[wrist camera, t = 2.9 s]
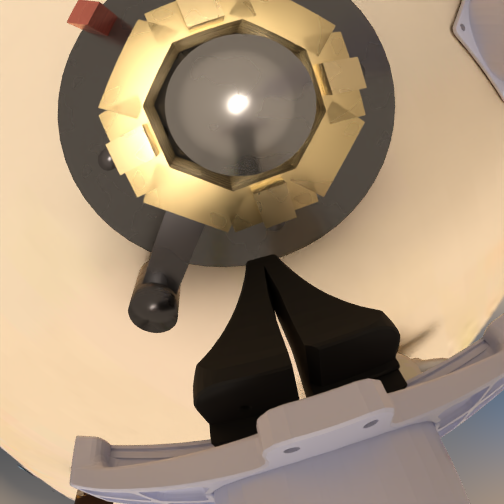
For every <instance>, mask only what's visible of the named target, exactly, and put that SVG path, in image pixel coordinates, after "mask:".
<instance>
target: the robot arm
mask: <svg viewBox="0 0 504 504" xmlns="http://www.w3.org/2000/svg"><path fill="white" fill-rule="evenodd" d="M453 32H454V34H455V36H456V37H457V38H458V39H459V41H460V42H461V43H462V44H463V45H464V46H465V48H466V49H467V50H468V51H469V53H470V54H471V55H472V56H473V58H474V59H475V60H476V62H477V63H478V64H479V66H480V67H481V68H482V70H483V71H484V73H485V74H486V75H487V77H488V78H489V80H490V81H491V83H492V84H493V86H494V87H495V89H496V90H497V92H498V93H499V95H500V97H501V98H502V100H503V101H504V0H462V2H461V5H460V8H459V11H458V14H457V17H456V20H455V22H454V25H453ZM275 312H276V315H277V317H278V319H279V322H280V324H281V326H282V329H283V331H284V333H285V335H286V338H287V340H288V342H289V345H290V347H291V350H292V352H293V355H294V359H295V362H296V365H297V368H298V372H299V375H300V378H301V382H302V385H303V388H304V392H305V395H306V398H304V399H301V400H299V396H298V391H297V386H296V381H295V377H294V372H293V367H292V364H291V360H290V357H289V354H288V351H287V348H286V346H285V343H284V340H283V338H282V335H281V332H280V329H279V326H278V324H277V321H276V315H275ZM399 342H400V334H399V331H398V329H397V328H396V327H395V325H394V324H393V322H392V321H391V320H390V319H389V318H388V317H387V316H386V315H385V314H384V313H383V311H380V310H375V309H371V308H366V307H361V306H358V305H355V304H351V303H348V302H345V301H343V300H340V299H338V298H335V297H333V296H331V295H329V294H327V293H325V292H323V291H321V290H319V289H317V288H316V287H314V286H313V285H311V284H309V283H308V282H307V281H305V280H304V279H302V278H301V277H300V276H298V275H297V274H296V273H295V272H293V271H292V270H291V269H290V268H289V267H288V266H286V265H285V264H284V263H283V262H282V261H281V260H280V259H279V258H278V257H277V255H275V254H271V255H268V256H264V257H260V258H257V259H253V260H249V261H247V263H246V271H245V278H244V282H243V287H242V291H241V294H240V297H239V300H238V303H237V305H236V308H235V310H234V313H233V315H232V317H231V319H230V321H229V323H228V324H227V326H226V328H225V330H224V331H223V333H222V335H221V336H220V338H219V339H218V340H217V342H216V343H215V345H214V346H213V347H212V349H211V350H210V351H209V352H208V353H207V354H206V356H205V357H204V358H203V359H202V360H201V361H200V362H199V363H198V364H197V366H196V370H195V376H194V383H193V398H194V406H195V408H196V409H197V411H198V412H199V413H200V414H201V415H202V416H203V418H204V419H205V420H206V421H207V422H208V423H209V425H210V437H211V439H209V440H202V441H193V442H184V443H172V444H156V445H110V444H109V443H108V442H107V441H105V440H104V439H102V438H99V437H91V436H76V440H75V446H74V453H73V459H72V467H71V475H70V486H72V487H74V488H76V489H78V490H81V491H83V492H85V493H88V494H90V495H92V496H95V497H97V498H100V499H103V500H105V501H109V502H116V503H123V504H470V501H469V499H468V496H467V494H466V492H465V489H464V487H463V485H462V482H461V480H460V478H459V476H458V473H457V471H456V469H455V467H454V465H453V463H452V461H451V458H450V456H449V455H448V452H447V450H446V448H445V446H444V444H443V442H442V440H441V437H442V436H444V435H446V434H447V433H449V432H450V431H451V430H453V429H454V428H456V427H457V426H459V425H460V424H461V423H463V422H464V421H465V420H467V419H468V418H469V417H471V416H472V415H473V414H474V413H476V412H477V411H478V410H480V409H481V408H482V407H483V406H484V405H486V404H487V403H488V402H489V401H491V400H492V399H493V398H494V397H495V396H496V395H498V394H499V393H500V392H501V391H502V390H504V314H502V315H501V316H499V317H498V318H497V319H495V320H494V321H492V322H491V323H490V324H489V326H488V327H487V328H486V330H485V332H484V335H483V337H482V338H481V339H479V340H478V341H476V342H475V343H473V344H472V345H470V346H468V347H467V348H465V349H464V350H462V351H460V352H459V353H457V354H455V355H454V356H452V357H450V358H449V359H447V360H445V361H443V362H441V363H440V364H438V365H436V366H434V367H432V368H430V369H429V370H427V371H425V372H423V373H421V374H419V375H417V376H415V377H413V378H411V379H409V380H407V381H405V379H404V377H403V376H402V374H401V372H400V370H399V368H400V364H399V362H398V361H397V359H396V354H397V351H398V347H399Z"/></svg>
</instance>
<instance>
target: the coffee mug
mask: <svg viewBox="0 0 504 504" xmlns="http://www.w3.org/2000/svg"><path fill="white" fill-rule="evenodd" d="M75 504H113V502H109V501H105V500H103V499H100V498H97V497H95V496H92V495H90V494H88V493H85V492H83V491H81V490H77V495H76V499H75Z"/></svg>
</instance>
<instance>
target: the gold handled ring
mask: <svg viewBox="0 0 504 504" xmlns="http://www.w3.org/2000/svg"><path fill="white" fill-rule="evenodd" d="M145 17H146V19H147V21H143V20H138V21H137V22H136V24H135V26H134V28H133V30H132V32H131V34H130V36H129V37H128V39H127V41H126V43H125V45H124V47H123V50H122V52H121V54H120V56H119V58H118V60H117V62H116V65H115V67H114V69H113V72H112V74H111V76H110V79H109V81H108V84H107V86H106V89H105V91H104V94H103V96H102V99H101V102H100V104H99V107H98V108H101V109H105V110H107V111H105V112H103V113H101V114H100V115H99V118H100V120H101V122H102V125H103V127H104V129H105V131H106V134H107V136H108V138H109V140H110V142H109V143H108V144H106V147H107V149H108V151H109V153H110V155H111V157H112V160H113V162H114V164H115V166H116V168H117V170H118V172H119V174H120V175H122V174H124V173H125V174H126V176H127V178H128V180H129V182H130V184H131V186H132V188H133V190H134V192H135V194H136V196H137V197H139V196H142V195H144V194H146V195H145V198H144V201H143V203H146V204H149V205H152V206H155V207H158V208H161V209H163V210H166V212H165V214H164V217H163V220H162V223H161V226H160V229H159V231H158V234H157V237H156V240H155V243H154V246H153V249H152V253H151V256H150V259H149V261H148V262H146V263H145V264H144V265H143V266H142V267H141V269H140V272H139V275H138V278H137V281H136V284H135V288H134V291H133V294H132V298H131V301H130V305H129V309H128V313H129V317H130V319H131V320H132V322H133V323H134V324H135V325H136V326H137V327H139V328H141V329H142V330H145V331H148V332H153V333H161V332H165V331H168V330H170V329H171V328H173V327H174V326H175V324H176V322H177V319H178V307H179V296H180V286H181V282H182V279H183V277H184V274H185V272H186V269H187V267H188V264H189V262H190V260H191V257H192V255H193V252H194V250H195V248H196V245H197V243H198V240H199V238H200V236H201V233H202V231H203V229H204V226H205V224H206V225H208V226H211V227H214V228H217V229H220V230H222V231H225V232H229V230H230V227H231V225H232V226H233V228H234V230H235V232H238V231H240V230H243V229H246V228H248V227H251V226H254V225H256V224H259V223H262V222H263V223H264V225H265V227H266V228H269V227H272V226H274V225H277V224H280V223H282V222H285V221H288V220H291V219H293V218H296V217H297V216H296V213H295V210H297V209H299V208H302V207H305V206H308V205H310V204H313V203H316V202H318V198H317V194H319V195H321V196H323V197H324V196H325V194H326V192H327V190H328V189H329V187H330V185H331V183H332V182H333V180H334V178H335V176H336V174H337V173H338V171H339V169H340V167H341V165H342V164H343V162H344V160H345V158H346V156H347V154H348V153H349V151H350V149H351V147H352V145H353V143H354V141H355V140H356V138H357V136H358V134H359V132H360V130H361V128H362V127H363V125H364V123H365V122H364V121H363V120H361V119H360V118H358V117H360V116H364V115H366V114H365V110H364V106H363V102H362V98H361V94H360V91H359V89H364V88H367V87H366V83H365V79H364V76H363V72H362V69H361V66H360V62H359V59H358V57H353V58H350V57H349V54H348V51H347V48H346V45H345V42H344V40H343V37H342V34H341V32H333V30H334V28H335V25H334V24H332V23H331V22H329V21H327V20H326V19H324V18H322V17H321V16H319V15H317V14H315V13H314V12H312V11H310V10H308V9H306V8H304V7H303V6H301V5H299V4H297V3H295V2H293V1H291V0H176V1H174V2H172V3H169V4H167V5H164V6H162V7H159V8H157V9H154V10H152V11H150V12H148V13H145ZM332 32H333V33H332ZM233 33H239V34H251V35H258V36H262V37H265V38H268V39H271V40H273V41H276V42H277V43H279V44H281V45H283V46H284V47H286V48H287V49H288V50H290V51H291V52H292V53H293V54H294V55H295V56H296V57H297V58H298V59H299V60H300V61H301V62H302V64H303V65H304V66H305V68H306V69H307V71H308V73H309V75H310V77H311V80H312V82H313V85H314V89H315V94H316V114H315V120H314V123H313V126H312V129H311V131H310V134H309V136H308V138H307V139H306V141H305V142H304V144H303V145H302V146H301V148H300V149H299V150H298V151H297V152H296V153H295V154H294V155H293V156H292V157H291V158H290V159H288V160H287V161H286V162H284V163H283V164H281V165H280V166H278V167H276V168H274V169H272V170H269V171H267V172H263V173H260V174H256V175H250V176H227V175H224V174H219V173H216V172H213V171H210V170H208V169H206V168H204V167H202V166H200V165H199V164H196V163H194V162H191V161H188V160H186V159H183V158H180V157H178V156H176V154H175V152H174V150H173V148H172V145H171V143H170V141H169V139H168V136H167V134H166V132H165V129H164V127H163V125H162V122H161V120H160V118H159V115H158V113H157V111H156V108H155V106H154V104H155V102H156V99H157V97H158V95H159V92H160V90H161V88H162V86H163V84H164V81H165V79H166V77H167V75H168V73H169V71H170V69H171V67H172V65H173V63H174V61H175V59H176V57H177V55H178V53H179V52H181V51H184V50H186V49H189V48H192V47H194V46H197V45H200V44H202V43H205V42H207V41H210V40H212V39H215V38H217V37H221V36H225V35H230V34H233ZM316 193H317V194H316Z"/></svg>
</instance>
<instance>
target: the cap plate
mask: <svg viewBox="0 0 504 504" xmlns="http://www.w3.org/2000/svg"><path fill="white" fill-rule="evenodd" d="M174 1H176V0H107V1H106V2H105V3H104V4H101V3H100V2H95V1H86V0H78V2H77V4H76V6H75V7H74V9H73V11H72V13H71V15H70V17H69V19H68V21H67V23H69V24H71V25H74V26H76V27H78V28H80V29H82V32H81V33H80V35H79V37H78V39H77V41H76V43H75V45H74V47H73V49H72V51H71V53H70V55H69V58H68V61H67V63H66V66H65V69H64V73H63V76H62V81H61V86H60V92H59V99H58V126H59V135H60V141H61V145H62V149H63V153H64V157H65V160H66V163H67V165H68V168H69V170H70V173H71V175H72V177H73V180H74V181H75V183H76V185H77V186H78V188H79V190H80V191H81V193H82V195H83V196H84V198H85V199H86V201H87V202H88V203H89V204H90V206H91V207H92V208H93V209H94V210H95V212H96V213H97V214H98V215H99V216H100V217H101V218H102V219H103V220H104V221H105V222H106V223H107V224H108V225H109V226H110V227H112V228H113V229H114V230H115V231H117V232H118V233H119V234H121V235H122V236H124V237H125V238H126V239H128V240H129V241H131V242H133V243H135V244H136V245H138V246H140V247H142V248H144V249H145V250H147V251H150V252H152V249H153V246H154V243H155V240H156V237H157V234H158V231H159V229H160V226H161V223H162V220H163V217H164V214H165V212H166V210H163V209H161V208H158V207H155V206H152V205H149V204H146V203H143V201H144V198H145V195H146V194H144V195H142V196H139V197H137V196H136V194H135V192H134V190H133V188H132V186H131V184H130V182H129V180H128V178H127V176H126V174H125V173H124V174H122V175H120V174H119V172H118V170H117V168H116V166H115V164H114V162H113V160H112V157H111V155H110V153H109V151H108V149H107V147H106V144H108V143H109V142H110V140H109V138H108V136H107V134H106V131H105V129H104V127H103V125H102V122H101V120H100V118H99V115H100V114H101V113H103V112H105V111H107V110H105V109H101V108H98V107H99V104H100V102H101V99H102V96H103V94H104V91H105V89H106V86H107V84H108V81H109V79H110V76H111V74H112V72H113V69H114V67H115V65H116V62H117V60H118V58H119V56H120V54H121V52H122V50H123V47H124V45H125V43H126V41H127V39H128V37H129V36H130V34H131V32H132V30H133V28H134V26H135V24H136V22H137V21H138V20H143V21H147V19H146V17H145V13H148V12H150V11H152V10H154V9H157V8H159V7H162V6H164V5H167V4H169V3H172V2H174ZM291 1H293V2H295V3H297V4H299V5H301V6H303V7H304V8H306V9H308V10H310V11H312V12H314V13H315V14H317V15H319V16H321V17H322V18H324V19H326V20H327V21H329V22H331V23H332V24H334V25H335V28H334V30H333V32H341V34H342V37H343V40H344V42H345V45H346V48H347V51H348V54H349V57H350V58H353V57H358V59H359V62H360V66H361V69H362V72H363V76H364V79H365V83H366V87H367V88H364V89H359V91H360V94H361V98H362V102H363V106H364V110H365V114H366V115H364V116H360V117H358V118H360V119H361V120H363V121H364V122H365V123H364V125H363V127H362V128H361V130H360V132H359V134H358V136H357V138H356V140H355V141H354V143H353V145H352V147H351V149H350V151H349V153H348V154H347V156H346V158H345V160H344V162H343V164H342V165H341V167H340V169H339V171H338V173H337V174H336V176H335V178H334V180H333V182H332V183H331V185H330V187H329V189H328V190H327V192H326V194H325V196H324V197H323V196H321V195H319V194H317V193H316V194H317V198H318V202H316V203H313V204H310V205H308V206H305V207H302V208H299V209H297V210H295V213H296V216H297V217H296V218H293V219H291V220H288V221H285V222H282V223H280V224H277V225H274V226H272V227H269V228H266V227H265V225H264V223H263V222H262V223H259V224H256V225H254V226H251V227H248V228H246V229H243V230H240V231H238V232H235V230H234V228H233V226H232V225H231V227H230V230H229V232H225V231H222V230H220V229H217V228H214V227H211V226H208V225H206V224H205V226H204V229H203V231H202V233H201V236H200V238H199V240H198V243H197V245H196V248H195V250H194V252H193V255H192V257H191V260H190V262H189V264H194V265H201V266H214V267H231V266H243V265H246V263H247V261H249V260H253V259H257V258H260V257H264V256H268V255H271V254H275V255H277V257H278V258H279V257H282V256H285V255H288V254H290V253H292V252H294V251H297V250H299V249H301V248H303V247H305V246H307V245H309V244H311V243H312V242H314V241H316V240H317V239H319V238H321V237H322V236H324V235H325V234H326V233H328V232H329V231H330V230H332V229H333V228H334V227H336V226H337V225H338V224H339V223H340V222H341V221H342V220H344V219H345V218H346V217H347V216H348V215H349V214H350V213H351V212H352V211H353V210H354V208H355V207H356V206H357V205H358V204H359V202H360V201H361V200H362V199H363V198H364V196H365V195H366V193H367V192H368V190H369V189H370V187H371V186H372V184H373V183H374V181H375V179H376V177H377V175H378V173H379V171H380V169H381V167H382V165H383V163H384V160H385V157H386V154H387V151H388V148H389V145H390V141H391V136H392V131H393V126H394V114H395V97H394V85H393V80H392V75H391V70H390V66H389V63H388V60H387V57H386V54H385V51H384V49H383V46H382V44H381V42H380V40H379V38H378V36H377V34H376V32H375V31H374V29H373V27H372V26H371V24H370V23H369V21H368V20H367V19H366V17H365V16H364V14H363V13H362V12H361V10H360V9H359V8H358V7H357V6H356V5H355V4H354V3H353V2H352V1H351V0H291ZM333 32H332V33H333ZM154 106H155V108H156V111H157V113H158V115H159V118H160V120H161V122H162V125H163V127H164V129H165V132H166V134H167V136H168V139H169V141H170V143H171V145H172V148H173V150H174V152H175V154H176V156H178V157H180V158H183V159H186V160H188V161H191V162H194V163H196V164H199V165H200V166H202V167H204V168H206V169H208V170H210V171H213V172H216V173H219V174H224V175H227V176H250V175H256V174H260V173H263V172H267V171H269V170H272V169H274V168H276V167H278V166H280V165H281V164H283V163H284V162H286V161H287V160H288V159H290V158H291V157H292V156H293V155H294V154H295V153H296V152H297V151H298V150H299V149H300V148H301V146H302V145H303V144H304V142H305V141H306V139H307V138H308V136H309V134H310V131H311V129H312V126H313V123H314V120H315V114H316V94H315V89H314V85H313V82H312V80H311V77H310V75H309V73H308V71H307V69H306V68H305V66H304V65H303V64H302V62H301V61H300V60H299V59H298V58H297V57H296V56H295V55H294V54H293V53H292V52H291V51H290V50H288V49H287V48H286V47H284V46H283V45H281V44H279V43H277V42H276V41H273V40H271V39H268V38H265V37H262V36H258V35H251V34H239V33H233V34H230V35H225V36H221V37H217V38H215V39H212V40H210V41H207V42H205V43H202V44H200V45H197V46H194V47H192V48H189V49H186V50H184V51H181V52H179V53H178V55H177V57H176V59H175V61H174V63H173V65H172V67H171V69H170V71H169V73H168V75H167V77H166V79H165V81H164V84H163V86H162V88H161V90H160V92H159V95H158V97H157V99H156V102H155V104H154Z"/></svg>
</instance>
